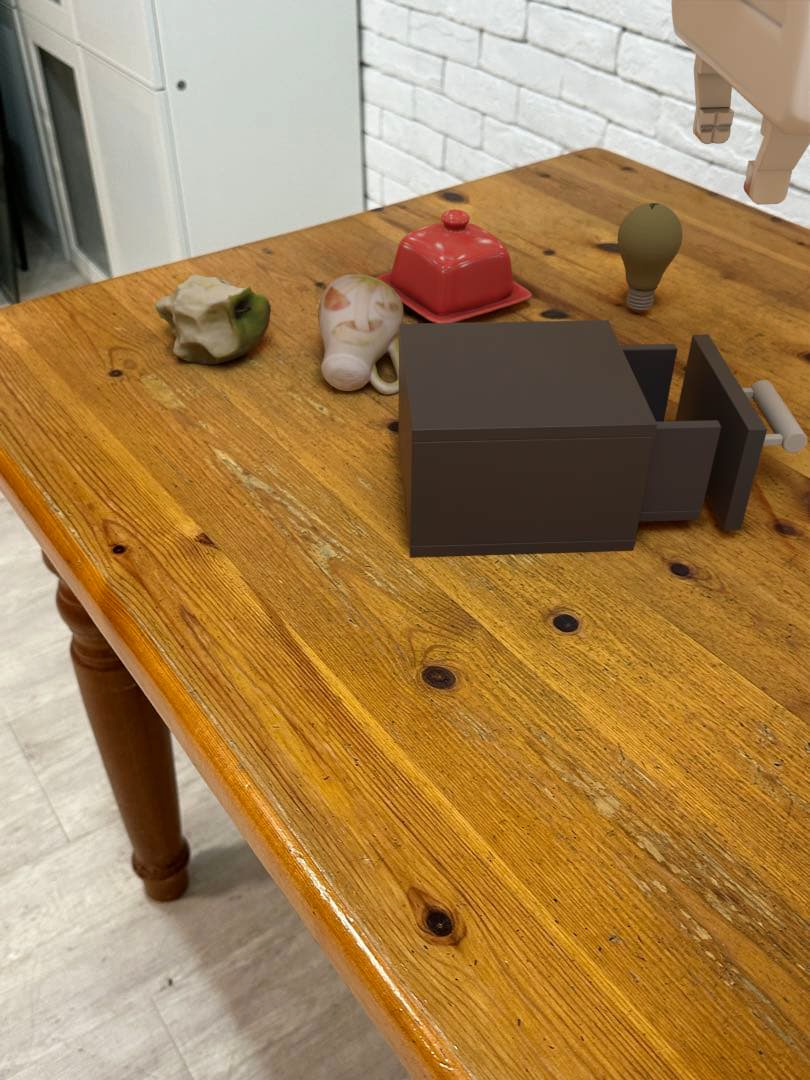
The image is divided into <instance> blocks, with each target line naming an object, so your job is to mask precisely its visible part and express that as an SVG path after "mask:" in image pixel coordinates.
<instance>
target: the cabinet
mask: <svg viewBox="0 0 810 1080" xmlns="http://www.w3.org/2000/svg"><path fill="white" fill-rule="evenodd" d="M620 345H621V344H620V342H619V339H618V337H617V335H616V333H615V331H614V329H613V326H612V325H611V322H610V320H609V319H598V320H597V319H596V320H595V319H593V320H592V319H591V320H590V319H589V320H588V319H587V320H541V321H540V320H539V321H536V320H535V321H493V322H492V321H488V322H487V321H485V322H484V321H482V322H481V321H480V322H455V323H433V322H431V323H430V322H429V323H427V322H425V323H424V322H423V323H403V324H399V391H398V412H397V413H398V420H397V425H398V427H397V428H398V429H397V435H398V436H397V443H398V444H397V445H398V453H399V462H400V472H401V482H402V491H403V492H402V494H403V502H404V511H405V521H406V532H407V541H408V552H409V557H410V558H426V557H427V558H429V557H460V556H461V557H462V556H463V557H464V556H493V555H494V556H495V555H526V554H557V553H559V554H561V553H590V552H623V551H628V552H629V551H634V550H635V545H636V539H637V533H638V528H639V523H640V521H639V518H640V513H641V507H642V502H643V497H644V491H645V486H646V481H647V475H648V470H649V465H650V459H651V454H652V449H653V443H654V438H655V433H656V428H657V423H656V421H655V419H654V416H653V414H652V412H651V410H650V408H649V406H648V404H647V401H646V399H645V397H644V395H643V393H642V391H641V389H640V386H639V384H638V382H637V380H636V378H635V376H634V374H633V372H632V369H631V367H630V365H629V363H628V361H627V359H626V357H625V354H624V352H623V350H622V348H621V346H620Z"/></svg>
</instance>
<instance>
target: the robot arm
mask: <svg viewBox="0 0 810 1080" xmlns="http://www.w3.org/2000/svg"><path fill="white" fill-rule="evenodd" d="M670 2H671V3H670V4H671V19H672V26H673V32H674V35H675V36H676V37H677V38H678V39H680V40H681V41H682V42H683V43H684V44H685V45H686V46H687V47H688V48H690V49H691V51H693V53H695V57H694V64H693V81H694V96H695V98H694V99H695V113H694V117H693V118H694V119H693V124H692V133H693V134H694V136H695V137H696V138H697V139H698V140H699V142H700V143H702V144H703V145H704V144H705V145H710V144H716V145H718V144H719V145H720V144H725V143H726V142H727V141H728V140H729V138H730V136H731V132H732V131H731V129H732V128H731V127H732V125H733V121H734V115H735V111H734V110H733V109H732V108H731V104H732V93H733V92H732V91H733V90H734V91H736V92H737V93H738V94H739V95H740V96H741V97H742V98H743V99H744V100H745V101H747V103H749V104H750V105H751V106H752V107H753V108H754V109H755V110H756V111H757V112H758V113H759V114H760V115H762V118H761V119H762V120H761V125H760V129H759V132H760V134H761V136H763V138H762V140H761V143H760V146H759V149H758V152H757V153H756V156H755V159H754V160H751V159H750V160H748V161H747V167H746V171H745V180H744V182H743V191H744V192H745V194H746V195H747V197H749V199H750V200H751V202H752V203H754V204H755V205H758V206H759V205H761V206H762V205H779V204H781V203H782V202H783V201H785V200H786V198H787V195H788V191H789V187H790V184H791V183H790V182H791V178H792V174H793V170H795V168H796V166H797V165H798V163H799V162H800V160H801V158H802V157H803V156H804V154H805V152H806V151H807V149H808V148H809V146H810V0H671V1H670Z"/></svg>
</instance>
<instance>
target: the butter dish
mask: <svg viewBox="0 0 810 1080" xmlns="http://www.w3.org/2000/svg"><path fill="white" fill-rule="evenodd" d="M470 218H471V217H470V215H469V213H467V212H466V211H465V210H462V209H449V210H446V211H444V212H443V213H441V216H440V219H441V222H436V223H431V224H429V225H425V226H422V227H419V228H417V229H415V230H412V231H411V232H408V233H407V234H406V235H405V236H403V237H402V238H401V240H400V241H399V244H398V246H397V250H396V253H395V257H394V260H393V265H392V269H391V271H390V272H387V273H384V274H381V275H379V276H376V277H375V278H377V279H379V280H381V281H383V282H384V283H386V284H387V285H389V286H390V287H391V288H392V289H393V290H394V291H395V292H396V293H397V294H398V296H399V297H400V299H401V301H402V304H403V305H405V306H407V307H408V308H409V309H411V310H413V312H415V313H417V314H419V316H421V317H422V318H424V319H426V320H427V321H429V322H431V323H460V322H463V321H465V320H469V319H471V318H475V317H478V316H481V315H484V314H489V313H492V312H495V311H498V310H501V309H505V308H508V307H511V306H514V305H516V304H517V305H518V304H520V303H523V302H526V301H528V300H529V299H531V298H532V297H533V294H532V293H531V291H529V290H528V289H527V288H525V287H524V286H522V285H521V284H519V283H518V282H517V281H515V280H513V271H512V269H513V268H512V261H511V256H510V253H509V252H510V251H509V250H508V248H507V246H506V245H505V244H504V243H503V242H502V241H501V240H500V239H499V238H497V236H495V235H494V234H492V233H491V232H489V231H488V230H486V229H485V228H483V227H481V226H479V225H476V224H474V223H472V222H470V220H471V219H470Z"/></svg>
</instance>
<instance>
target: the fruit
mask: <svg viewBox="0 0 810 1080" xmlns="http://www.w3.org/2000/svg"><path fill="white" fill-rule="evenodd" d="M154 307H155V310H156V311H157V313H158V315H159V317H160V319H163V320H165V321H166V322H167V323H168V324H169V327H170V331H171V333H172V335H173V336H174V337H175V341H174V345H173V349H172V355H174V356H176V357H177V358H179V359H181V360H184V361H186V362H190V363H194V364H199V365H200V364H201V365H217V364H222V363H225V362H228V361H231V360H235V359H237V358H240V357H242V356H244V355H245V354H247V353H249V352H251V351H252V350H254V349H255V347H256V346H257V345H258V344H259V343H261V341H262V340H263V337H264V336H265V333H266V332H267V330H268V327H269V325H270V319H271V313H272V306H271V303H270V301H269V299H268V297H266V296H265V294H262V293H256V292H255V291H252V287H251V286H249V285H246V287H238V286H235V285H232V284H231V283H230V282H229V281H227V280H224V279H219V278H218V277H217V276H211V277H207V276H203V275H201V274H194V275H193V274H192V275H189V276H188V277H187V278H186V280H185V281H184V282H183V283H179V284H178V285H177V286H176V288H175V289H174V290H173V293H172V294H171V295H166V296H163V297H161V298H160V299H159V300H158V301H155V306H154Z"/></svg>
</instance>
